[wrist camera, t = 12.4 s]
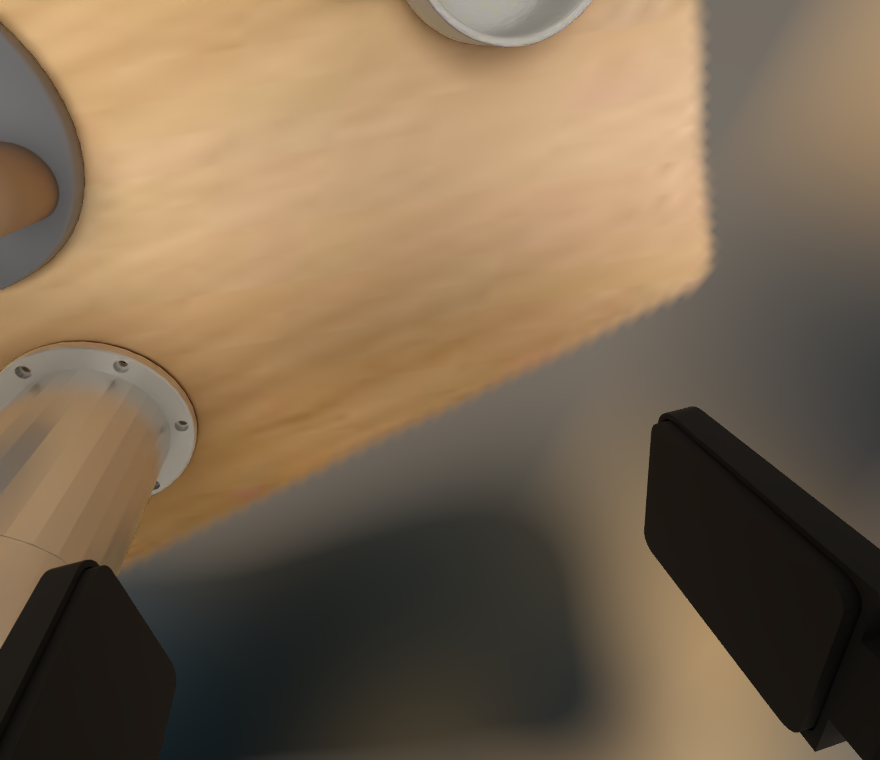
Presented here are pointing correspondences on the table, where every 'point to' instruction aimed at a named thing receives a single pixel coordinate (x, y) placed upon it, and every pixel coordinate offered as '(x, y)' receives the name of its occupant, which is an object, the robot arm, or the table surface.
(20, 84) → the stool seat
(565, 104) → the table surface
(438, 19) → the teacup
